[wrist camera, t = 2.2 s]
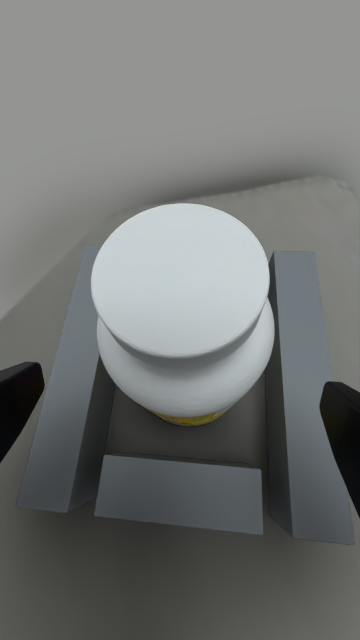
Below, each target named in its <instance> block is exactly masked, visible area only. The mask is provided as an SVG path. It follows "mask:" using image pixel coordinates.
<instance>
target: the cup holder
mask: <svg viewBox="0 0 360 640" xmlns="http://www.w3.org/2000/svg"><path fill="white" fill-rule="evenodd" d="M101 247H102V246H85V247H84V251H83V254H82V258H81V262H80V266H79V269H78V273H77V277H76V281H75V285H74V288H73V292H72V296H71V300H70V303H69V307H68V311H67V315H66V318H65V322H64V326H63V330H62V333H61V337H60V341H59V345H58V349H57V352H56V356H55V360H54V364H53V367H52V371H51V375H50V379H49V382H48V386H47V390H46V394H45V397H44V401H43V405H42V409H41V412H40V416H39V420H38V424H37V428H36V431H35V435H34V439H33V443H32V446H31V450H30V454H29V458H28V461H27V465H26V469H25V473H24V476H23V480H22V484H21V488H20V492H19V495H18V499H17V503H16V507H17V508H26V509H35V510H44V511H53V512H62V513H68V512H70V511H72V510H74V509H76V508H78V507H79V506H81V505H83V504H85V503H87V502H89V501H91V500H92V499H94V498H96V496H97V500H96V506H95V512H94V516H97V517H106V518H115V519H124V520H133V521H142V522H150V523H159V524H168V525H177V526H186V527H195V528H204V529H213V530H222V531H231V532H239V533H248V534H257V535H263V512H262V481H261V469H259V468H256V467H254V466H252V465H249V464H247V463H236V462H225V461H214V460H203V459H192V458H181V457H170V456H159V455H149V454H138V453H127V452H122V453H115V454H107V455H104V449H105V444H106V438H107V432H108V426H109V420H110V414H111V408H112V402H113V396H114V391H115V385H116V384H115V382H114V381H113V380H112V378H111V377H110V375H109V373H108V372H107V370H106V368H105V366H104V364H103V361H102V359H101V356H100V352H99V348H98V342H97V321H98V313H97V311H96V308H95V305H94V302H93V299H92V294H91V274H92V269H93V265H94V262H95V259H96V257H97V255H98V253H99V250H100V249H101ZM268 266H269V275H270V284H269V291H268V295H267V297H268V300H269V302H270V305H271V309H272V313H273V318H274V331H275V334H274V343H273V348H272V352H271V356H270V359H269V361H268V363H267V366H266V368H265V392H266V416H267V440H268V464H269V488H270V511H271V517H272V518H273V519H274V520H275V521H276V522H277V523H278V524H279V525H280V526H281V527H282V528H283V529H284V530H285V531H286V532H287V533H288V534H289V535H290V536H291V537H292V538H293V539H302V540H311V541H319V542H328V543H337V544H346V545H355V543H354V535H353V528H352V521H351V513H350V506H349V499H348V492H347V488H346V485H345V483H344V481H343V478H342V476H341V474H340V471H339V469H338V466H337V464H336V461H335V459H334V456H333V453H332V450H331V447H330V443H329V440H328V437H327V434H326V430H325V427H324V424H323V420H322V417H321V414H320V409H319V404H320V399H321V395H322V391H323V387H324V384H325V383H326V382H327V381H332V375H331V368H330V361H329V354H328V346H327V339H326V332H325V325H324V317H323V310H322V303H321V296H320V288H319V281H318V274H317V267H316V259H315V252H301V251H274V252H273V254H272V257H271V259H270V262H269V264H268ZM103 455H104V459H103ZM102 461H103V465H102ZM101 467H102V471H101ZM100 473H101V476H100ZM99 479H100V482H99ZM98 485H99V488H98ZM97 491H98V494H97Z"/></svg>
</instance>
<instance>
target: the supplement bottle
mask: <svg viewBox="0 0 360 640" xmlns="http://www.w3.org/2000/svg"><path fill="white" fill-rule="evenodd" d="M269 284H270V275H269V266H268V261H267V258H266V255H265V252H264V250H263V248H262V246H261V244H260V243H259V241H258V240H257V238H256V237H255V235H254V234H253V233H252V232H251V231H250V230H249V229H248V228H247V227H246V226H245V225H244V224H243V223H241V222H240V221H239V220H237V219H236V218H234V217H232V216H231V215H229V214H227V213H225V212H223V211H220V210H217V209H214V208H211V207H208V206H204V205H197V204H170V205H162V206H158V207H155V208H152V209H149V210H146V211H144V212H141V213H139V214H137V215H135V216H134V217H132V218H130V219H129V220H127V221H126V222H124V223H123V224H122V225H121V226H119V227H118V228H117V229H116V230H115V231H114V232H113V233H112V234H111V235H110V236H109V238H108V239H107V240H106V241H105V243H104V244H103V246H102V247H101V249H100V250H99V253H98V255H97V257H96V259H95V262H94V265H93V269H92V274H91V294H92V299H93V302H94V305H95V308H96V311H97V313H98V321H97V342H98V348H99V352H100V356H101V359H102V361H103V364H104V366H105V368H106V370H107V372H108V373H109V375H110V377H111V378H112V380H113V381H114V382H115V384H116V385H117V386H118V387H119V388H120V389H121V390H122V391H123V392H124V393H125V394H126V395H127V396H128V397H130V398H131V399H132V400H134V401H135V402H136V403H138V404H139V405H141V406H143V407H144V408H146V409H147V410H149V411H150V412H152V413H154V414H155V415H157V416H158V417H160V418H162V419H163V420H165V421H167V422H169V423H172V424H175V425H180V426H187V427H193V426H200V425H204V424H207V423H210V422H212V421H214V420H216V419H218V418H219V417H221V416H222V415H223V414H224V413H226V412H227V411H228V410H229V409H230V408H231V407H232V406H233V405H234V404H235V403H236V402H237V401H238V400H240V399H241V398H242V397H243V396H244V395H245V394H246V393H247V392H248V391H249V390H250V389H251V387H252V386H253V385H254V384H255V383H256V381H257V380H258V379H259V377H260V376H261V374H262V373H263V371H264V369H265V368H266V366H267V363H268V361H269V359H270V356H271V352H272V348H273V343H274V334H275V331H274V318H273V313H272V309H271V305H270V302H269V300H268V297H267V295H268V291H269Z"/></svg>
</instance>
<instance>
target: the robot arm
mask: <svg viewBox="0 0 360 640" xmlns="http://www.w3.org/2000/svg"><path fill="white" fill-rule="evenodd" d="M44 386H45V384H44V378H43V373H42V368H41V365H40V364H39V363H38V362H24V363H21V364H18V365H15V366H12V367H10V368H7V369H4V370H1V371H0V463H1V461H2V460H3V458H4V457H5V455H6V454H7V453H8V451H9V450H10V448H11V447H12V445H13V444H14V442H15V441H16V439H17V438H18V436H19V434H20V433H21V431H22V429H23V428H24V426H25V424H26V422H27V421H28V419H29V417H30V415H31V413H32V411H33V409H34V408H35V406H36V404H37V402H38V400H39V398H40V396H41V395H42V393H43V390H44ZM319 409H320V414H321V417H322V420H323V424H324V427H325V430H326V434H327V437H328V440H329V443H330V447H331V450H332V453H333V456H334V459H335V461H336V464H337V466H338V469H339V471H340V474H341V476H342V478H343V481H344V483H345V485H346V488H347V490H348V492H349V495H350V497H351V499H352V502H353V504H354V506H355V509H356V511H357V513H358V516H359V518H360V392H358V391H356V390H354V389H353V388H351V387H349V386H347V385H345V384H344V383H342V382H333V381H327V382H326V383H325V384H324V387H323V391H322V395H321V399H320V404H319Z"/></svg>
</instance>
